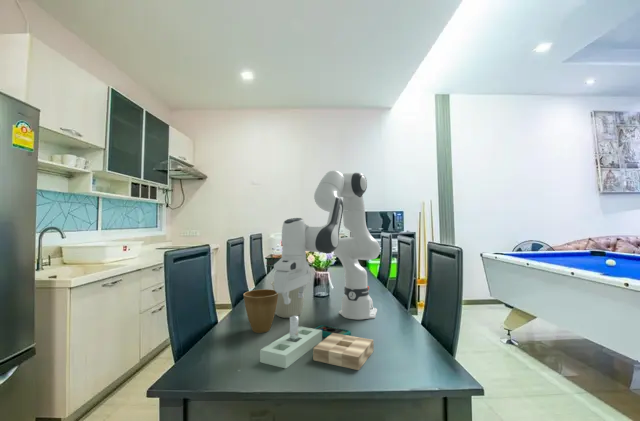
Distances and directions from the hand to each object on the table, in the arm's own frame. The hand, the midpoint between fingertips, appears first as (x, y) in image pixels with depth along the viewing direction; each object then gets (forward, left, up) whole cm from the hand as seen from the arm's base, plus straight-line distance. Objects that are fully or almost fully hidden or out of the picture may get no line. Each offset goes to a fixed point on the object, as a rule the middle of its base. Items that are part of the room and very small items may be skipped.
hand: (294, 300), depth 110 cm
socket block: (-4, +18, -18) cm, 25 cm away
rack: (0, 0, -18) cm, 18 cm away
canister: (-36, -25, -18) cm, 47 cm away
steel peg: (0, 0, -18) cm, 18 cm away
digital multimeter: (-20, +6, -18) cm, 28 cm away
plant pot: (-12, -24, -18) cm, 32 cm away
